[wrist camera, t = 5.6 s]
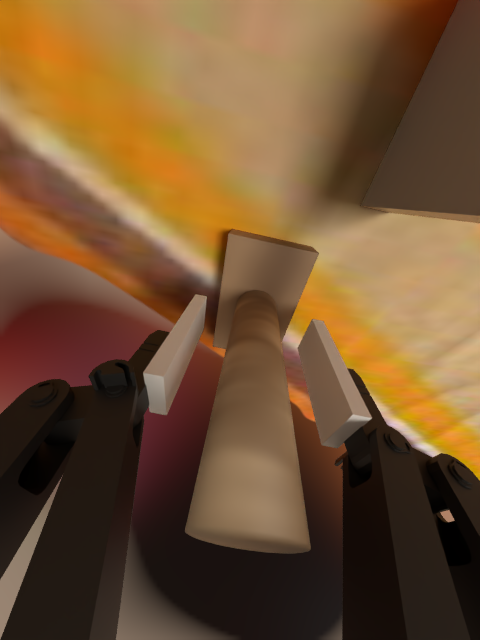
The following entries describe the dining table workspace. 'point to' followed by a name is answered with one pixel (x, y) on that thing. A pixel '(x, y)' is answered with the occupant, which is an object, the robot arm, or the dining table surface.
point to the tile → (438, 133)
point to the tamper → (253, 405)
